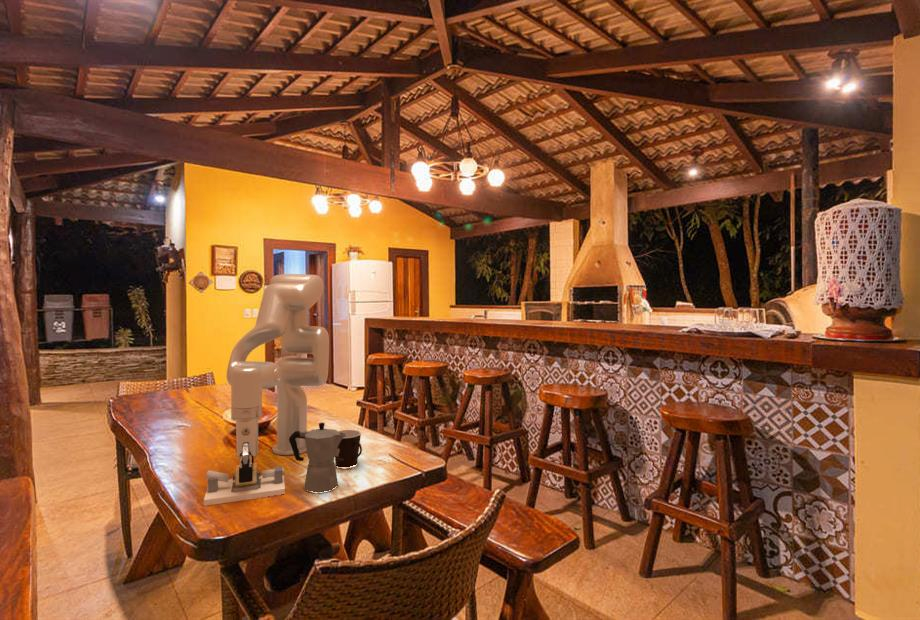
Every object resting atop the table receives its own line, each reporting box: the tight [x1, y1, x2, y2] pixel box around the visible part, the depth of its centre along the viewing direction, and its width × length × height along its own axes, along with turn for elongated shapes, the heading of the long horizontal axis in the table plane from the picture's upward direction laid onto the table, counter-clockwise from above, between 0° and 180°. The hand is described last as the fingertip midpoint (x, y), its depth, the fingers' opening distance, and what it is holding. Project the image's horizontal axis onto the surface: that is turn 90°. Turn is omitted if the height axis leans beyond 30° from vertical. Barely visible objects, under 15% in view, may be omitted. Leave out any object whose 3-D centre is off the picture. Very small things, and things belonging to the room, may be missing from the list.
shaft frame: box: [203, 465, 286, 507], centre depth 124 cm, size 19×12×7 cm, turn 113°
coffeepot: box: [289, 422, 346, 492], centre depth 127 cm, size 15×9×18 cm, turn 93°
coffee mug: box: [334, 429, 363, 467], centre depth 142 cm, size 12×9×10 cm
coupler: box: [232, 462, 261, 488], centre depth 124 cm, size 7×4×5 cm
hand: (246, 475), depth 124 cm, fingers open, 9 cm apart
